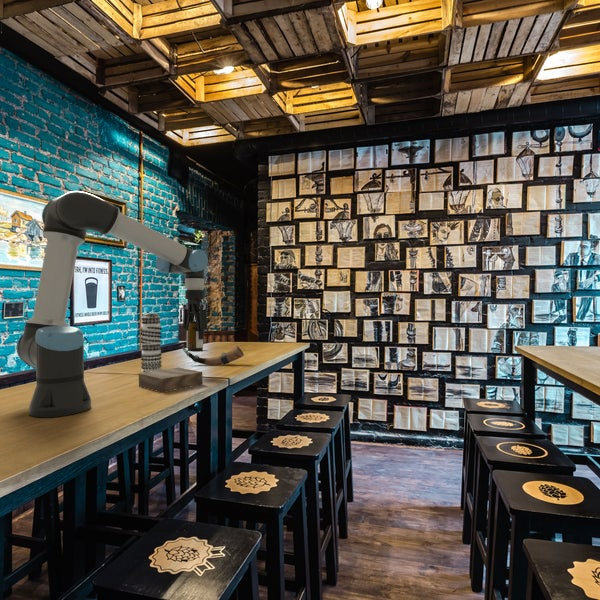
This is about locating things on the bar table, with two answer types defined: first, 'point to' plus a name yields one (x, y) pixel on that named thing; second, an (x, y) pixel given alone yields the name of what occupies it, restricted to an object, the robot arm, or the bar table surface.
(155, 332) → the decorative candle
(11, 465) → the bar table surface
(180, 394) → the bar table surface
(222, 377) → the bar table surface
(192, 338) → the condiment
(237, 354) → the drinking horn
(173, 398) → the bar table surface
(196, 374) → the block
